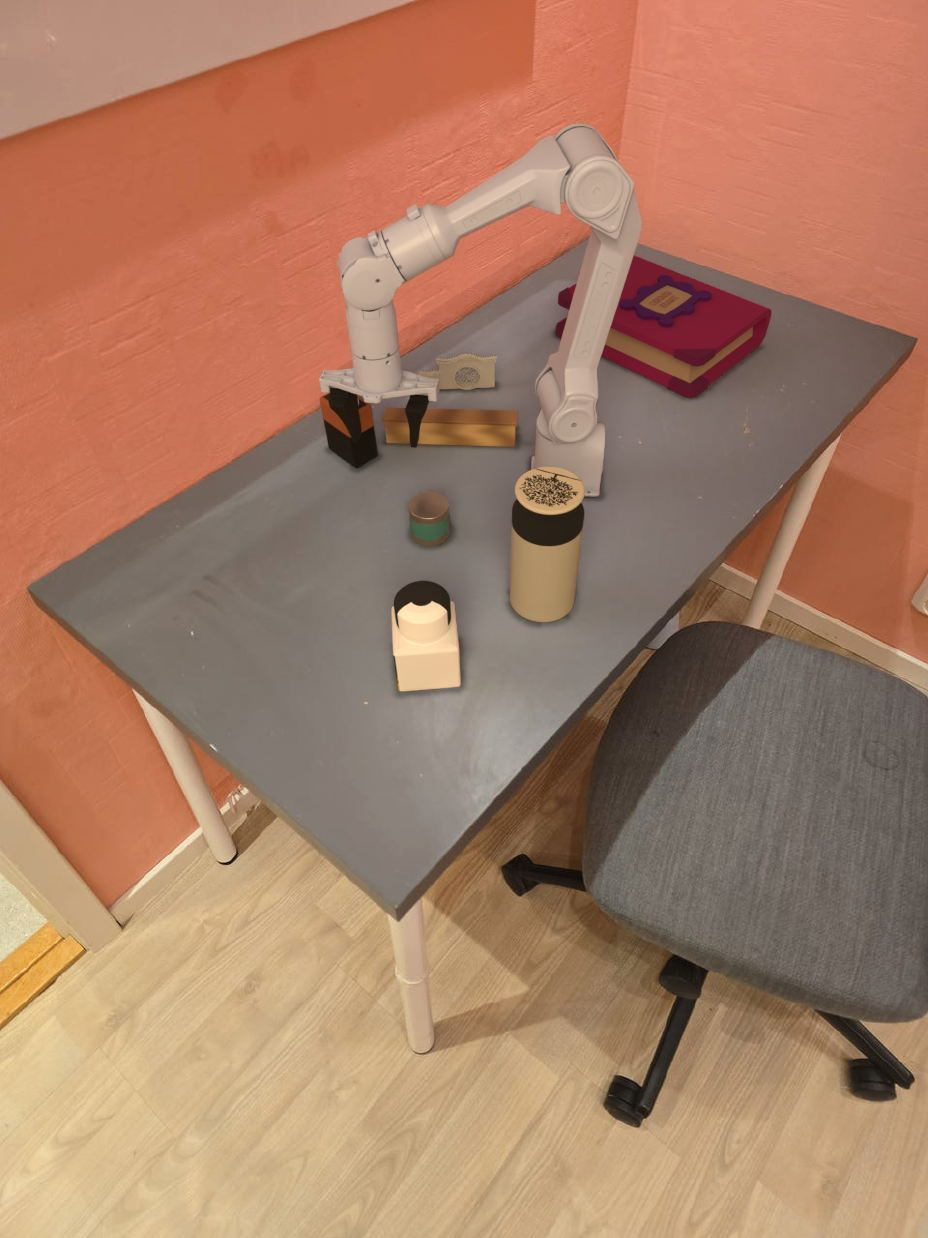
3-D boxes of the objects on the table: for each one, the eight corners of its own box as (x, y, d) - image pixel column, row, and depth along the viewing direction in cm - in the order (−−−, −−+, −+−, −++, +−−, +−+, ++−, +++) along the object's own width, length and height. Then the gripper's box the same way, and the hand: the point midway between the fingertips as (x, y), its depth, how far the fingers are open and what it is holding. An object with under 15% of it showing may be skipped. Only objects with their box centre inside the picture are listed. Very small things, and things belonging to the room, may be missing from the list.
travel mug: (555, 633, 100) (565, 523, 86) (497, 607, 103) (498, 497, 89) (585, 590, 104) (599, 479, 91) (529, 567, 107) (535, 455, 94)
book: (627, 286, 151) (632, 244, 146) (764, 343, 138) (776, 300, 133) (551, 334, 142) (554, 291, 136) (691, 400, 129) (701, 356, 123)
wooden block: (517, 428, 126) (518, 404, 122) (516, 448, 123) (516, 423, 119) (389, 425, 127) (386, 400, 124) (384, 444, 124) (381, 419, 121)
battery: (356, 470, 120) (347, 412, 113) (327, 449, 124) (316, 391, 116) (379, 456, 122) (372, 398, 115) (350, 436, 125) (341, 378, 118)
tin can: (451, 519, 113) (450, 491, 109) (448, 547, 110) (446, 519, 106) (413, 518, 114) (410, 490, 110) (408, 545, 110) (405, 517, 106)
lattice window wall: (420, 391, 132) (418, 358, 128) (420, 385, 133) (418, 352, 129) (496, 388, 132) (496, 355, 128) (496, 382, 133) (496, 349, 129)
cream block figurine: (396, 643, 100) (386, 575, 91) (456, 639, 100) (452, 569, 91) (398, 693, 95) (388, 625, 86) (461, 687, 95) (458, 620, 86)
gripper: (305, 361, 97) (323, 454, 107) (428, 370, 95) (435, 464, 105) (322, 328, 101) (338, 421, 112) (440, 336, 99) (445, 430, 110)
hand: (386, 440), depth 109 cm, fingers open, 7 cm apart
